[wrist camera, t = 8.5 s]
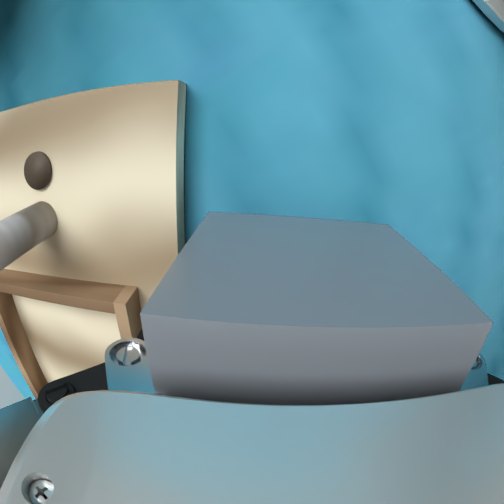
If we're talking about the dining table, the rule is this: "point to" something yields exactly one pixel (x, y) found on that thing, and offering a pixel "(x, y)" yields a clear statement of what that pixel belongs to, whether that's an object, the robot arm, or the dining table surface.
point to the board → (87, 220)
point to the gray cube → (307, 315)
